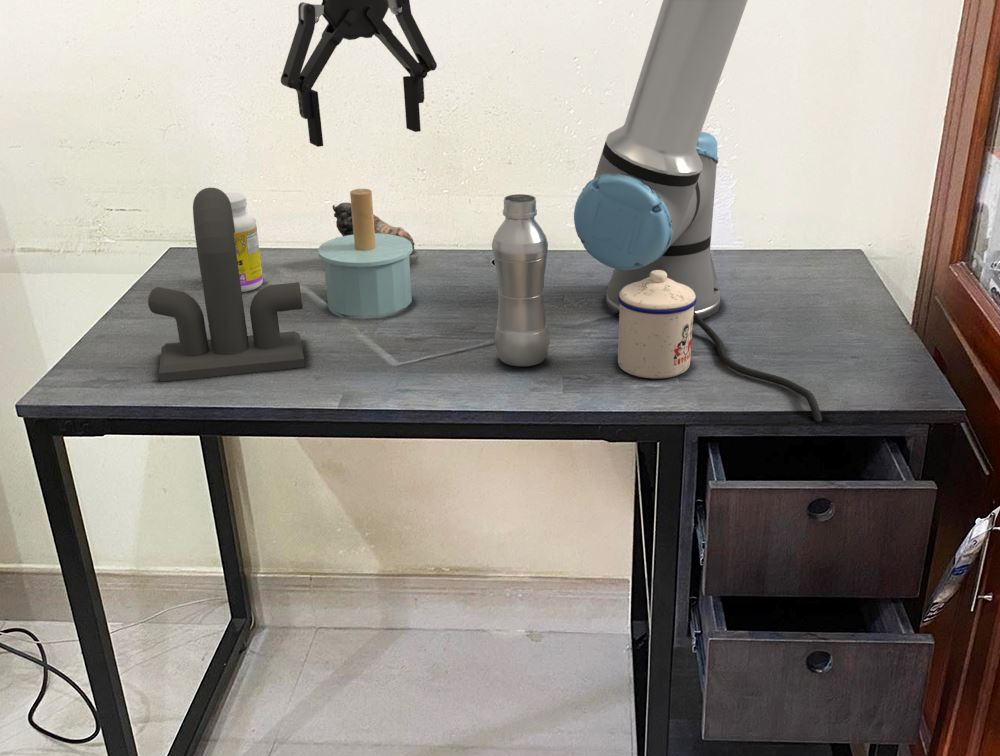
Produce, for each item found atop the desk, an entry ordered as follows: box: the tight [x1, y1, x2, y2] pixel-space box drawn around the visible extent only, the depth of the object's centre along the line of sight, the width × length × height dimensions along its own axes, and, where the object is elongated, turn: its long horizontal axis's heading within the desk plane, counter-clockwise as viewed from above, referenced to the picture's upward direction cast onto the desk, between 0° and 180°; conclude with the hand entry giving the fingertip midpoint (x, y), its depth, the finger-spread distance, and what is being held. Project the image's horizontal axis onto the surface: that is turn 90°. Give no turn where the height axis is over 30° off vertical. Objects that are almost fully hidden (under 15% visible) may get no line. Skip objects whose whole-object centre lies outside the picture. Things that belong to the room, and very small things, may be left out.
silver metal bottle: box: [491, 193, 550, 367], centre depth 135 cm, size 6×7×20 cm
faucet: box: [147, 187, 306, 383], centre depth 140 cm, size 18×16×20 cm
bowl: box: [323, 256, 413, 319], centre depth 156 cm, size 11×11×8 cm
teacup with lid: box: [617, 270, 697, 380], centre depth 136 cm, size 12×9×12 cm
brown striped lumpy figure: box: [332, 202, 419, 265], centre depth 168 cm, size 12×7×10 cm, turn 96°
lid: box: [317, 188, 412, 267], centre depth 152 cm, size 13×13×9 cm
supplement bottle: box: [224, 192, 264, 293], centre depth 162 cm, size 7×7×13 cm
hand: (366, 137), depth 148 cm, fingers open, 13 cm apart
